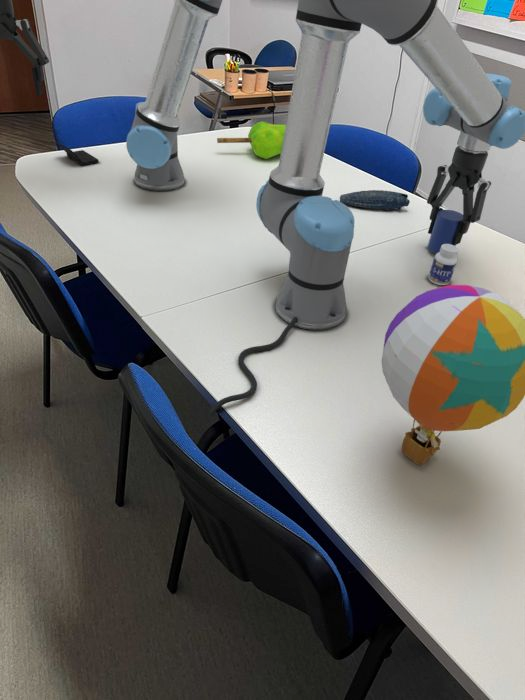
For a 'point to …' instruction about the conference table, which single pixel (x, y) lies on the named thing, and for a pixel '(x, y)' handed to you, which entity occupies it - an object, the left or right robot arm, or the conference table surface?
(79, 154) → the black handled block
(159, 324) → the conference table surface
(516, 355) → the toy
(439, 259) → the pill bottle
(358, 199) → the fish model
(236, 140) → the decorative tree
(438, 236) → the can
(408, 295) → the conference table surface
